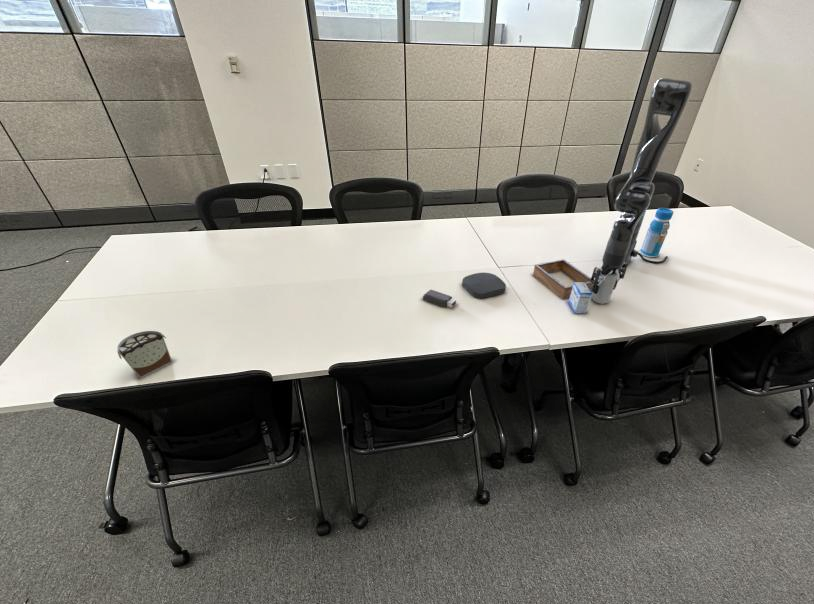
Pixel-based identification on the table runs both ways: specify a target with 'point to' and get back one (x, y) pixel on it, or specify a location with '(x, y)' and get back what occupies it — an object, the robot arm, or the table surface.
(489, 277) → the media streaming box
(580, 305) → the medicine box
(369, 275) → the table surface
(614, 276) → the beverage can
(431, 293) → the usb drive
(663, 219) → the beverage bottle
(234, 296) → the table surface
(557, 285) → the wooden tray
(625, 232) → the robot arm
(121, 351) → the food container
